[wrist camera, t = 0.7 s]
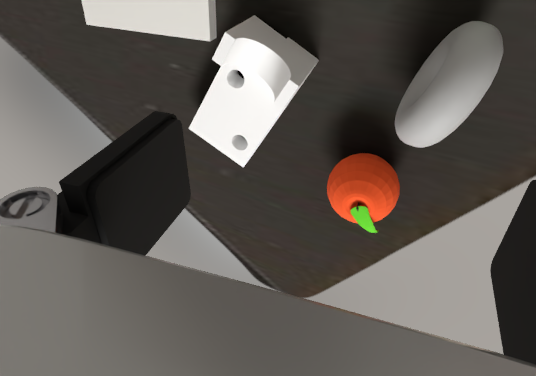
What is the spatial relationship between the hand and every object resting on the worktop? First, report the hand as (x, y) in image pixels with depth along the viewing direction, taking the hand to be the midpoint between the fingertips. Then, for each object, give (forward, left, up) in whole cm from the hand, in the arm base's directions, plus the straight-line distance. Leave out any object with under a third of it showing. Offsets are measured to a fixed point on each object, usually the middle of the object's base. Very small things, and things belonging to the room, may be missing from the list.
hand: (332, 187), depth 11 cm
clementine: (+16, +1, -28) cm, 32 cm away
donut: (+4, +5, -28) cm, 28 cm away
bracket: (+9, -12, -28) cm, 32 cm away
